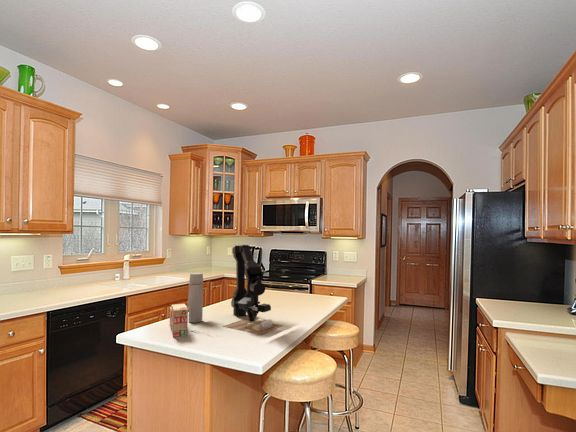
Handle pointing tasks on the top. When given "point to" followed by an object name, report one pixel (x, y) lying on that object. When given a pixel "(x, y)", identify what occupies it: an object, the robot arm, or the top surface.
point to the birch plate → (255, 324)
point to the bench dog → (266, 325)
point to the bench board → (242, 326)
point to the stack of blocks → (178, 320)
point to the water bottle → (195, 297)
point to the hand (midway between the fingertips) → (251, 323)
